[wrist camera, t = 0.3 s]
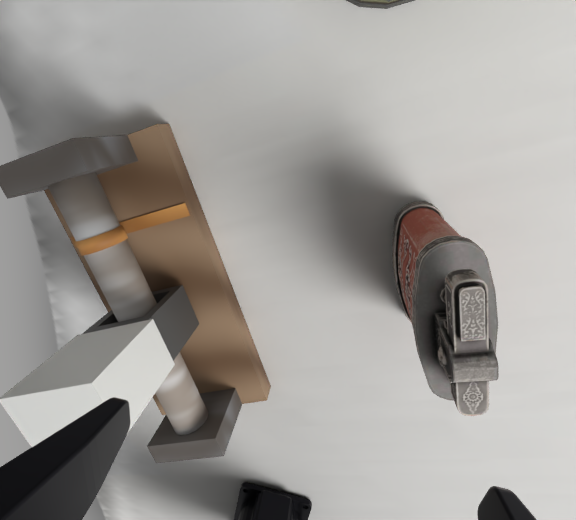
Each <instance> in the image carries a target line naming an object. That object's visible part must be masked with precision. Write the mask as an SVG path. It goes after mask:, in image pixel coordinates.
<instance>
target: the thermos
mask: <svg viewBox="0 0 576 520" xmlns="http://www.w3.org/2000/svg"><path fill="white" fill-rule="evenodd" d="M347 1H349V2H351V3H353V4H355V5H357V6H359V7H370V8H384V9H387V8H391V7H394V6H397V5H401V4H404V3H408V2H411V1H414V0H347Z"/></svg>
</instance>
